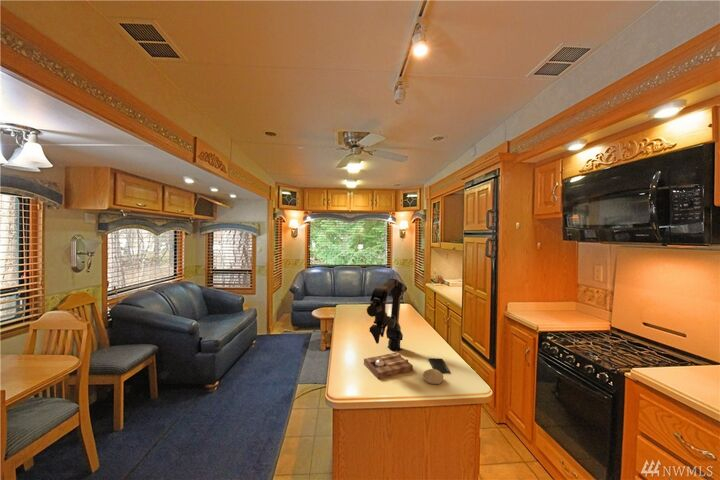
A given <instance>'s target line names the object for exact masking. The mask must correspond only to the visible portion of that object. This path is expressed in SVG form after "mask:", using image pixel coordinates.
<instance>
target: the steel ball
mask: <svg viewBox="0 0 720 480" xmlns="http://www.w3.org/2000/svg"><path fill="white" fill-rule="evenodd" d="M384 366H385V364H384V361H383V360H381V359H378V360H376V362H375V368H380V367H384Z"/></svg>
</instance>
